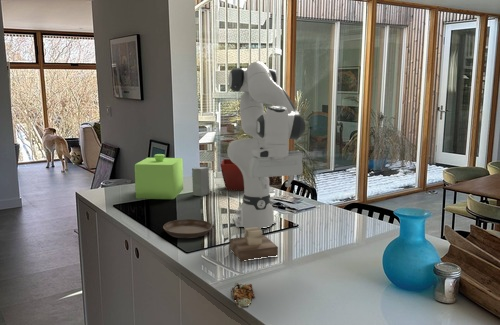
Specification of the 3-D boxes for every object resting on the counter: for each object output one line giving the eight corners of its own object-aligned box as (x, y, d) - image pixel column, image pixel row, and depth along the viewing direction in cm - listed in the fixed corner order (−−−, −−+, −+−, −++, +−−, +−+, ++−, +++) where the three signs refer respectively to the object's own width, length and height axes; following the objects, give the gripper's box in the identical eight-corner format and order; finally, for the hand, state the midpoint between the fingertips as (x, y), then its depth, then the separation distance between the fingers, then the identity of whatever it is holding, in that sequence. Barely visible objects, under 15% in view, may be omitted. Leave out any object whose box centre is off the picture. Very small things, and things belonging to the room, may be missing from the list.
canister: (148, 188, 276) (147, 151, 272) (183, 189, 274) (182, 151, 271) (135, 198, 251) (134, 157, 248) (173, 199, 250) (172, 158, 246)
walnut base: (229, 248, 173) (229, 238, 172) (263, 244, 177) (264, 234, 177) (241, 261, 160) (241, 251, 159) (277, 257, 164) (277, 246, 164)
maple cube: (244, 241, 170) (244, 228, 169) (257, 239, 171) (257, 227, 170) (249, 245, 165) (249, 232, 164) (261, 244, 166) (261, 230, 166)
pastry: (234, 309, 126) (234, 297, 126) (229, 290, 138) (229, 280, 137) (259, 307, 128) (259, 295, 127) (251, 289, 139) (251, 278, 139)
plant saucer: (205, 223, 206) (204, 216, 205) (218, 237, 187) (218, 229, 186) (159, 228, 198) (159, 221, 198) (168, 243, 179) (168, 235, 179)
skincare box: (201, 196, 256) (201, 169, 253) (191, 195, 259) (191, 168, 257) (210, 193, 263) (210, 167, 260) (200, 192, 266) (199, 165, 264)
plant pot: (220, 191, 268) (220, 163, 266) (223, 185, 287) (223, 158, 284) (252, 192, 268) (252, 164, 265) (253, 185, 287) (253, 159, 284)
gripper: (299, 148, 171) (298, 184, 174) (247, 150, 165) (247, 187, 168) (306, 151, 166) (305, 187, 168) (253, 153, 159) (252, 191, 162)
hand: (275, 187), depth 168 cm, fingers open, 8 cm apart
